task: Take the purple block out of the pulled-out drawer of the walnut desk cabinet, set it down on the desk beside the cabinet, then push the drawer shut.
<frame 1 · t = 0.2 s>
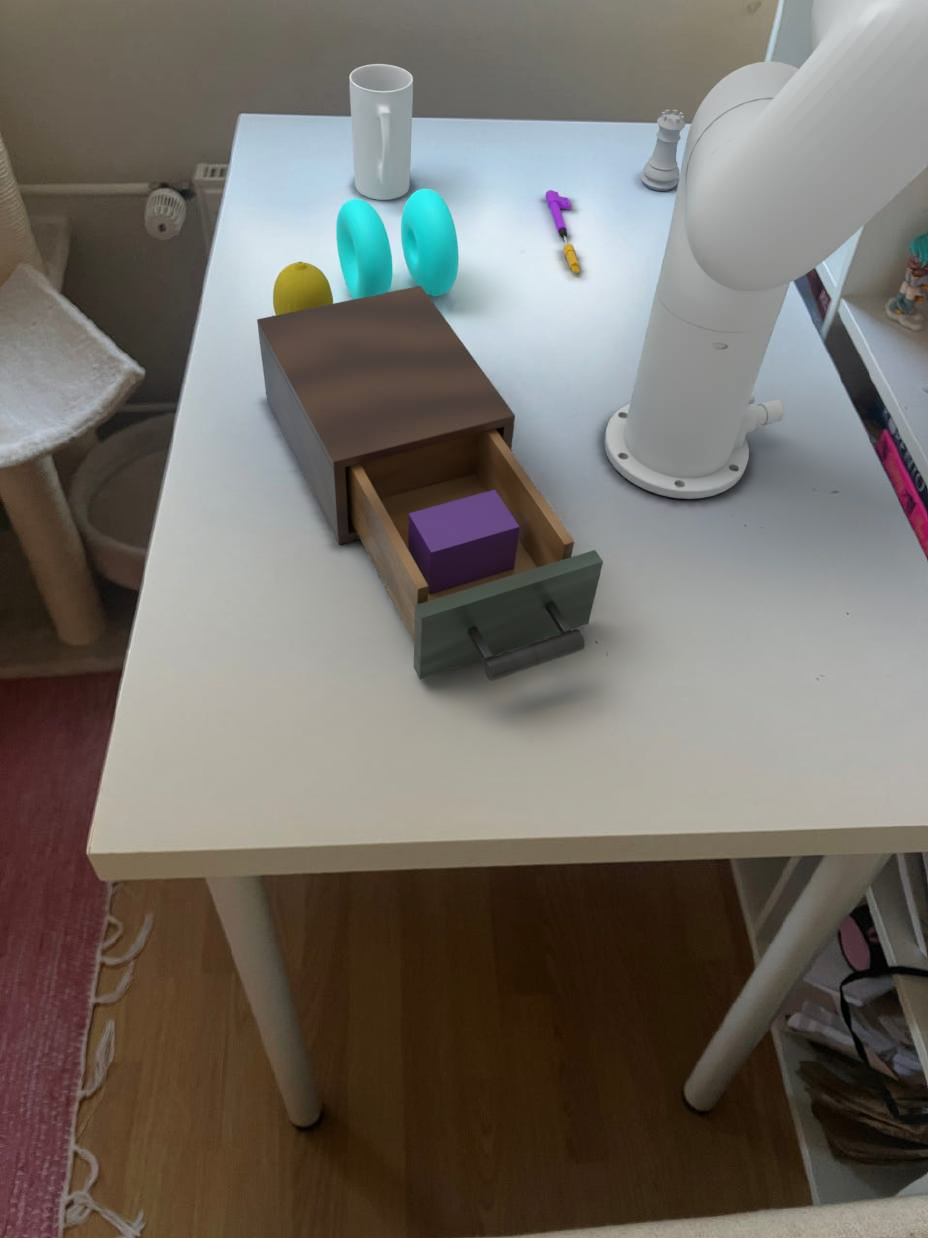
donuts: (396, 295, 102), on the table
purple block: (460, 562, 76), point 2 cm above the table, touching drawer
purple and yellow tool: (568, 237, 111), on the table
drawer: (471, 555, 74), point 4 cm above the table, slide at 14.0 cm, touching purple block
mug: (383, 195, 115), on the table
lemon: (306, 339, 97), on the table
desk cabinet: (382, 448, 87), on the table
rook chess piece: (658, 184, 120), on the table
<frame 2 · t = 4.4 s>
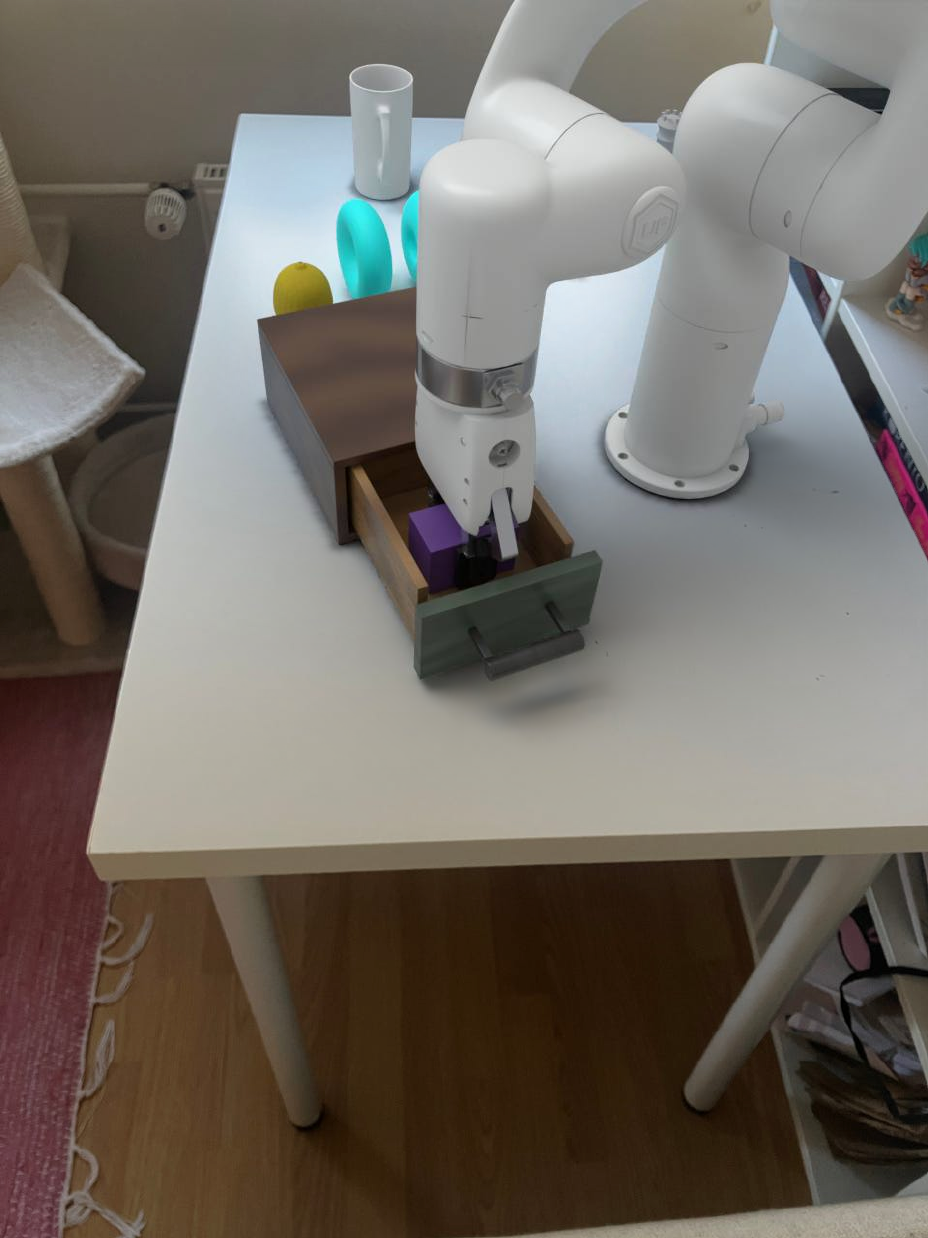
hand: (461, 556, 76), 3 cm above the table, tool pointing down, fingers closed on purple block, 4 cm apart
purple block: (460, 562, 76), point 2 cm above the table, touching drawer, gripper
everything else where it was.
when the fingers open (1 cm above the table, at t = 10.9 s): purple block stays where it is, on the table.
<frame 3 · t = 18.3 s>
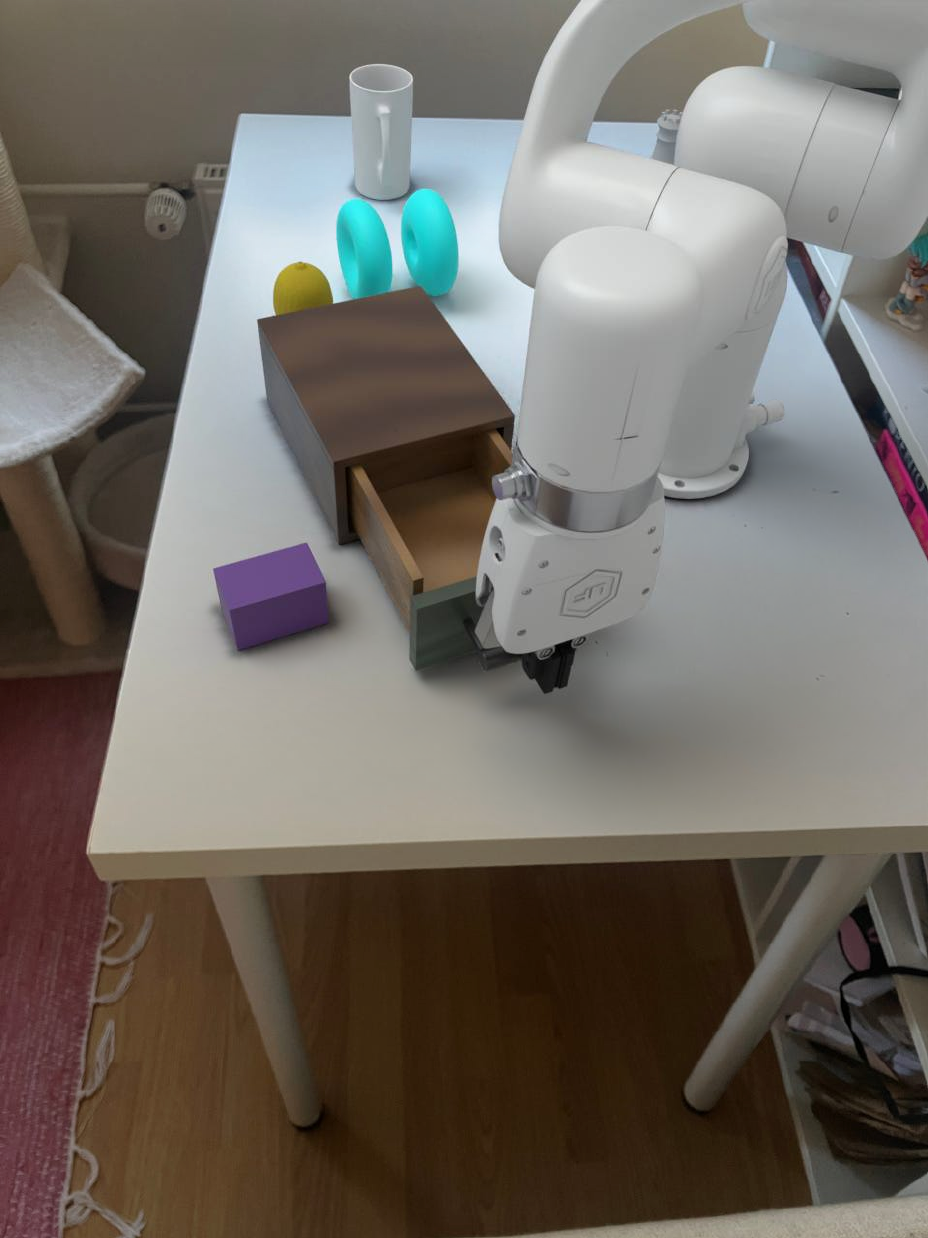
hand: (544, 674, 67), 5 cm above the table, tool pointing down, fingers closed
purple block: (275, 616, 75), on the table
drawer: (466, 548, 74), point 4 cm above the table, slide at 13.2 cm, touching gripper
everything else where it was.
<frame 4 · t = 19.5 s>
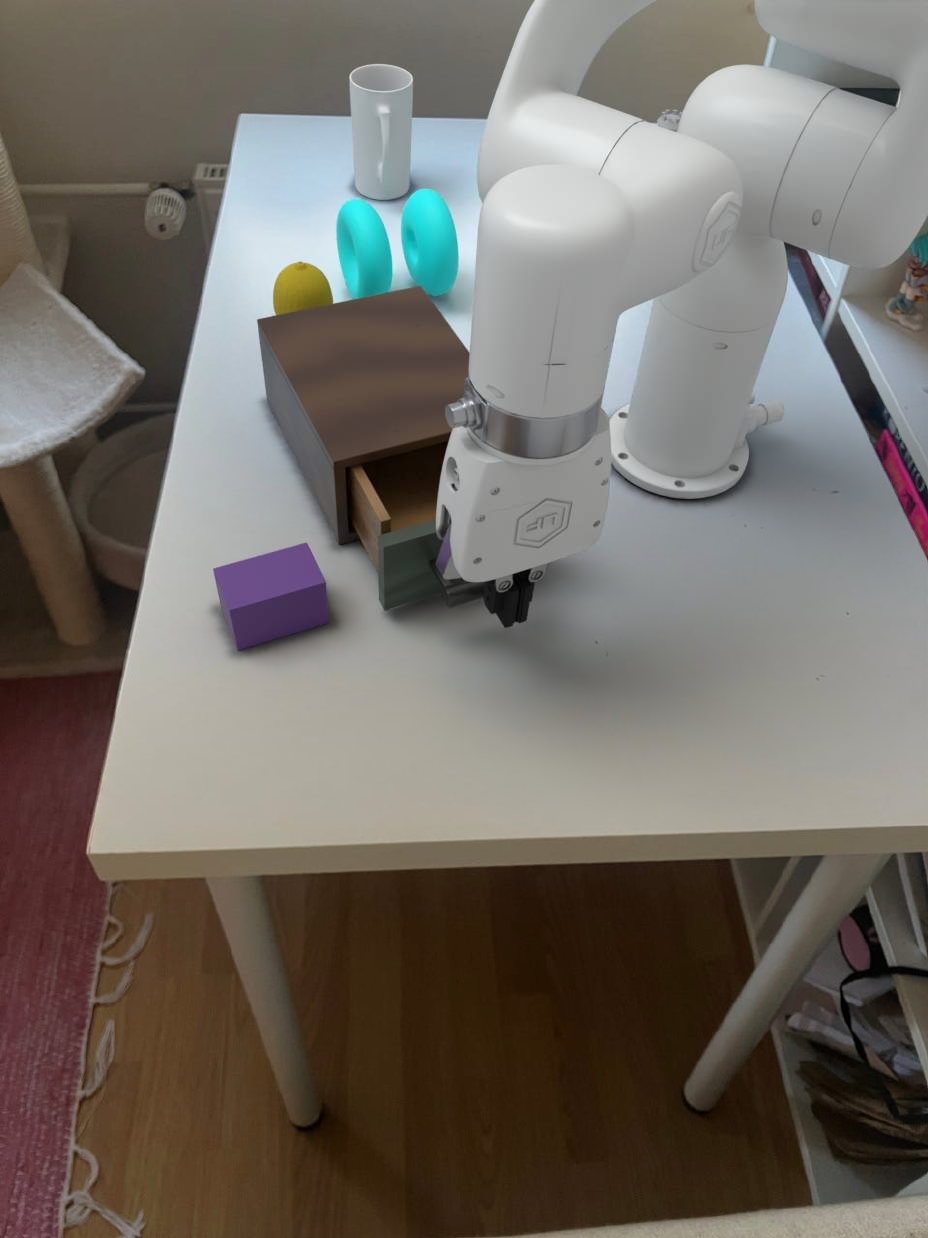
hand: (506, 610, 70), 5 cm above the table, tool pointing down, fingers closed
drawer: (434, 495, 77), point 4 cm above the table, slide at 7.2 cm, touching gripper
everything else where it was.
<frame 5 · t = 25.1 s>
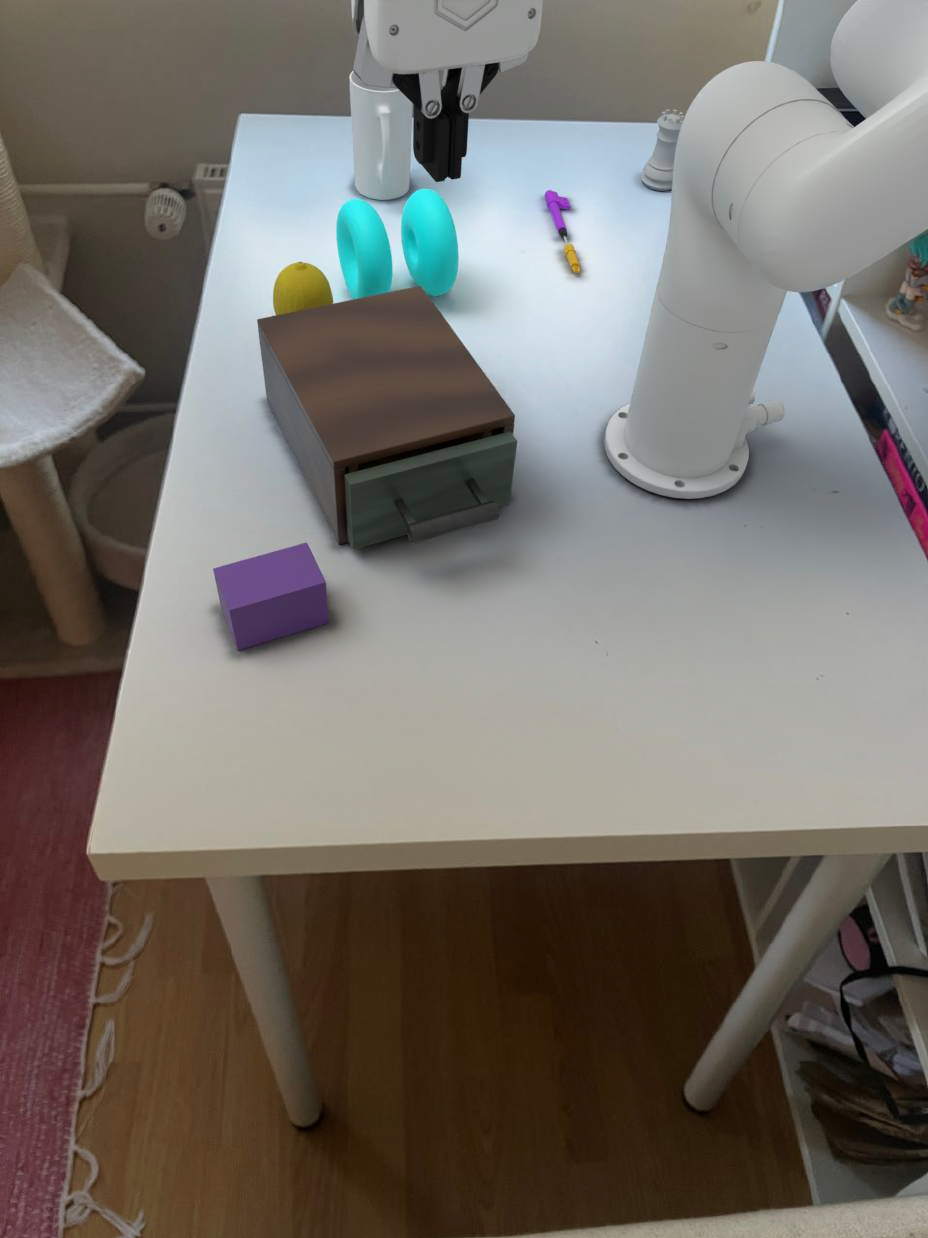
hand: (439, 169, 64), 27 cm above the table, tool pointing down, fingers closed
drawer: (402, 442, 81), point 4 cm above the table, slide at 0.6 cm
everything else where it was.
at the end: purple block inside the target area (0.2 cm from its centre), on the table; purple block tilted 0°; drawer slide at 0.6 cm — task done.
